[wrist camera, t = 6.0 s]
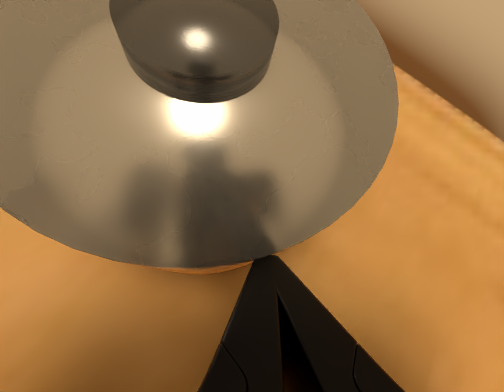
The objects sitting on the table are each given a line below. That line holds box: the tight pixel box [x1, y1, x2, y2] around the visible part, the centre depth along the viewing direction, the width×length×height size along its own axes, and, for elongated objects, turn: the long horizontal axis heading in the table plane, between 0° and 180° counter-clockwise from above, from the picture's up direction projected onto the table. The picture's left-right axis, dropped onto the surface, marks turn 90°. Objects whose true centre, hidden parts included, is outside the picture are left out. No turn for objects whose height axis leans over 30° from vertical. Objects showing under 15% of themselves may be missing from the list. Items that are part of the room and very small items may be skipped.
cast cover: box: [0, 0, 399, 274], centre depth 12 cm, size 15×15×9 cm
